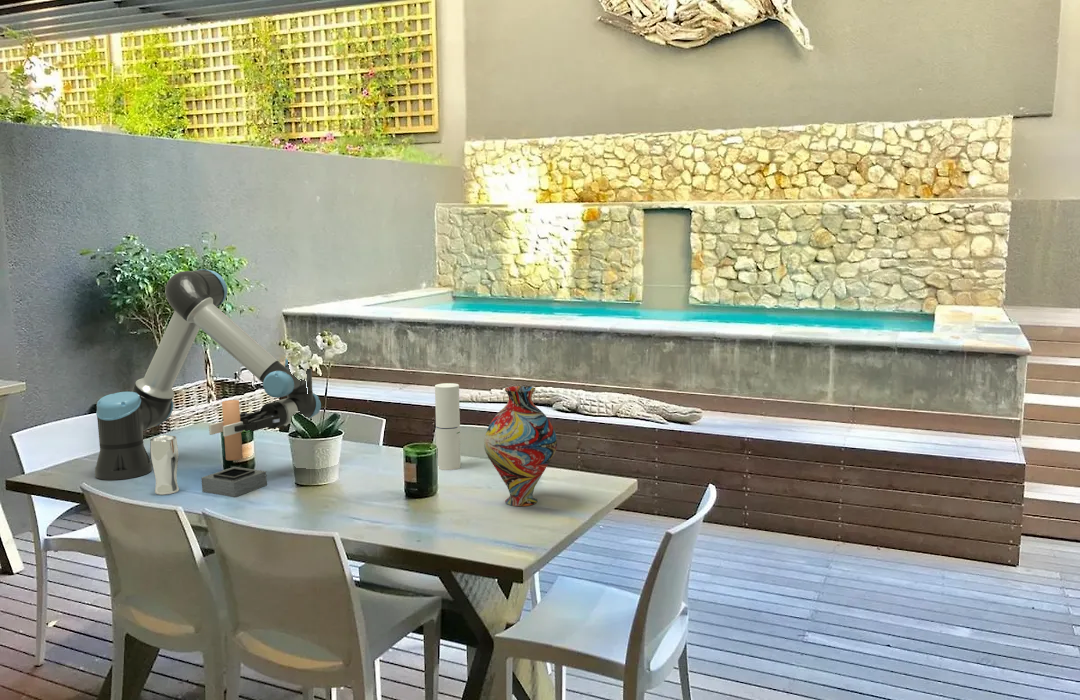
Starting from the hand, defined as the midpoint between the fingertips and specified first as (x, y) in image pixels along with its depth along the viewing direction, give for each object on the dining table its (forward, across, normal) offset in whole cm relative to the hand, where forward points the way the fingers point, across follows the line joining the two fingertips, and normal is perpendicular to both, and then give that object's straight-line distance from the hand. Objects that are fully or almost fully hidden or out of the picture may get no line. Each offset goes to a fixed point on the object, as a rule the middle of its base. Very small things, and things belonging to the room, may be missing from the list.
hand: (217, 430), depth 228 cm
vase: (-27, -78, -18) cm, 84 cm away
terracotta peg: (-5, 0, -9) cm, 10 cm away
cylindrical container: (-48, -43, -18) cm, 67 cm away
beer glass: (+5, +15, -18) cm, 24 cm away
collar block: (-5, 0, -18) cm, 18 cm away
